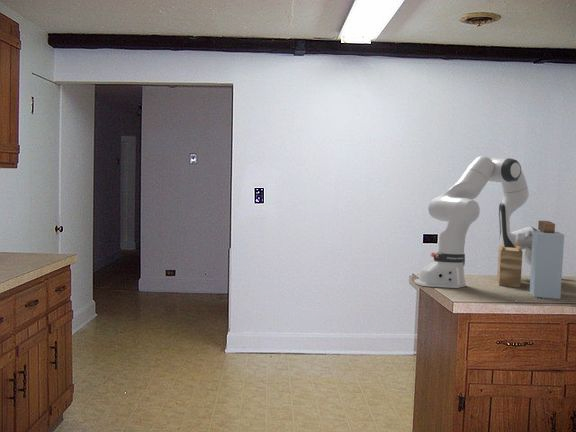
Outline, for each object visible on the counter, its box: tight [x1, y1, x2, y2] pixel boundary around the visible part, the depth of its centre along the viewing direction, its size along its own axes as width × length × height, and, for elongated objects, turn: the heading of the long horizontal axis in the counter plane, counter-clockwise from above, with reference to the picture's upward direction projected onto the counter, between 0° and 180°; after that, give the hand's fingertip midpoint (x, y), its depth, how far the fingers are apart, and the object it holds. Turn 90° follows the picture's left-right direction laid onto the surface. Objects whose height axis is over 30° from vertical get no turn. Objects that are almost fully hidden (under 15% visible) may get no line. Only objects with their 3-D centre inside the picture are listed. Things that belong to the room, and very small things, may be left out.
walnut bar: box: [537, 220, 556, 234], centre depth 256 cm, size 20×4×4 cm, turn 164°
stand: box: [528, 230, 565, 300], centre depth 250 cm, size 16×10×26 cm, turn 164°
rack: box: [496, 243, 524, 288], centre depth 276 cm, size 16×9×18 cm, turn 164°
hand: (541, 233), depth 268 cm, fingers open, 8 cm apart
